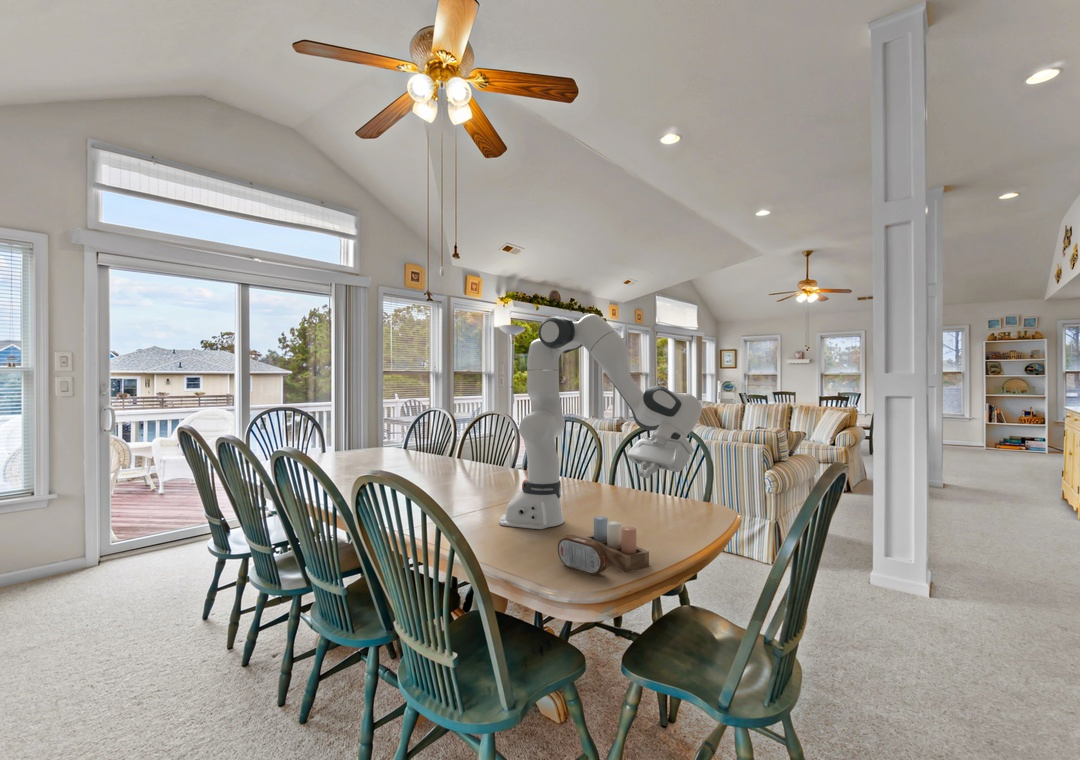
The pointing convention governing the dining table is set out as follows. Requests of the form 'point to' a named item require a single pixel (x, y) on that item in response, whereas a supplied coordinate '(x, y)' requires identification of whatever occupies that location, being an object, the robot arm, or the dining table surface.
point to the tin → (582, 554)
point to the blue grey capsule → (600, 528)
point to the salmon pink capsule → (628, 540)
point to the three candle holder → (625, 557)
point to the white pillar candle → (614, 534)
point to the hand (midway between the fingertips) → (642, 476)
